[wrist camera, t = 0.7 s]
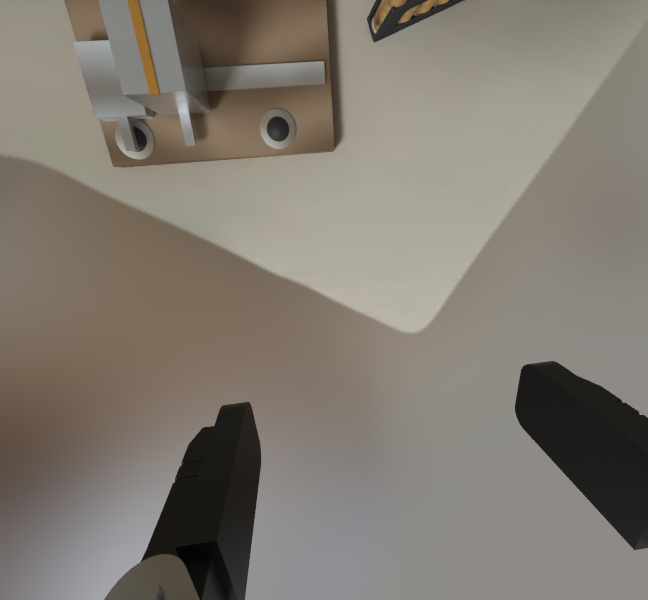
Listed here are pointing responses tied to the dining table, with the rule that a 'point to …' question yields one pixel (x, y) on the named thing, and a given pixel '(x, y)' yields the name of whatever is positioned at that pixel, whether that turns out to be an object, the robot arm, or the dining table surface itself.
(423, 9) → the ammunition clip
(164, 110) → the grey latch block
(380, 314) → the dining table surface
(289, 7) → the sliding latch plate
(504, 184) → the dining table surface
